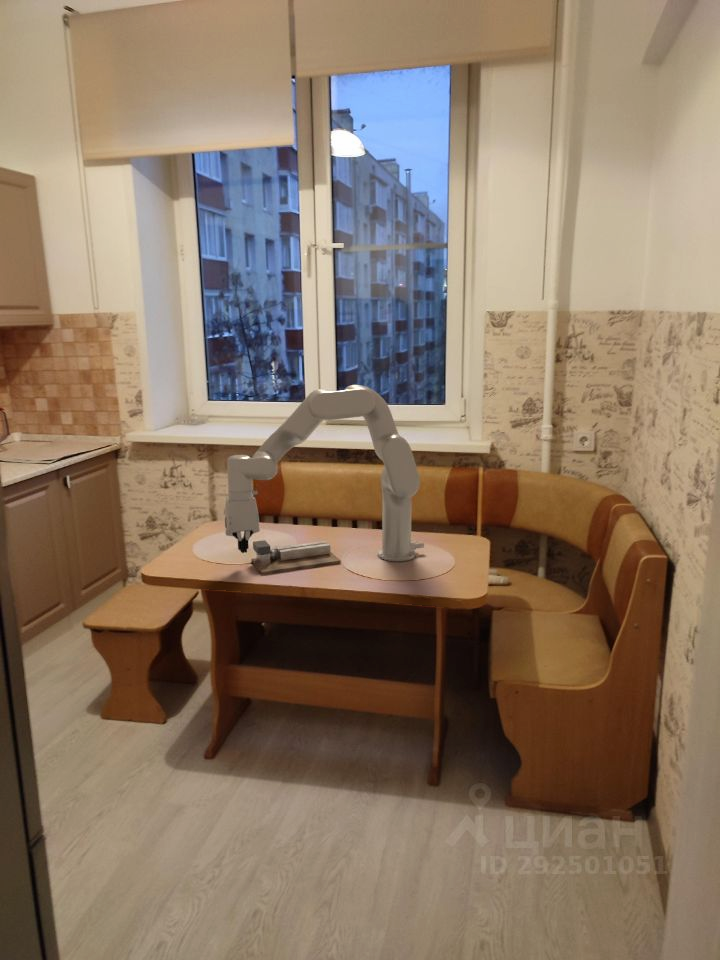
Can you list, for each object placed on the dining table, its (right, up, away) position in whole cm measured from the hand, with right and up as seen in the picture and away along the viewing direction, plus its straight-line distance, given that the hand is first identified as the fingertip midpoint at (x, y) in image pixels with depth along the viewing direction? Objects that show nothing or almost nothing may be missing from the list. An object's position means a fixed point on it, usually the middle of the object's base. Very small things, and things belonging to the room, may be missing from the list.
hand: (243, 551), depth 211 cm
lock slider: (+5, 0, +2) cm, 6 cm away
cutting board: (+16, -4, +5) cm, 17 cm away
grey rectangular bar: (+17, -2, +7) cm, 19 cm away
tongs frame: (+15, -3, +7) cm, 17 cm away
